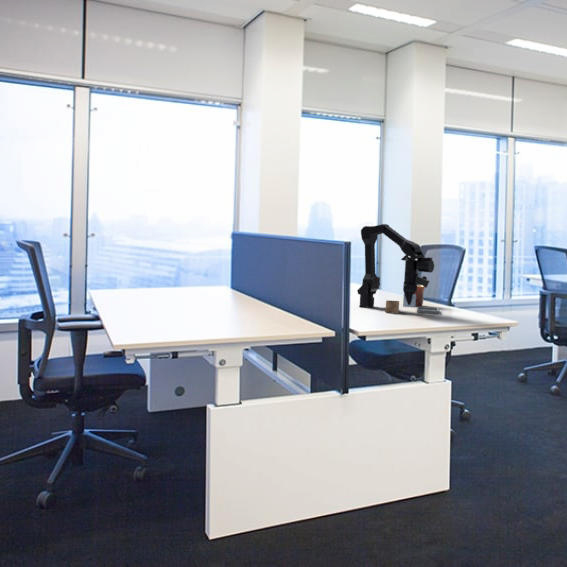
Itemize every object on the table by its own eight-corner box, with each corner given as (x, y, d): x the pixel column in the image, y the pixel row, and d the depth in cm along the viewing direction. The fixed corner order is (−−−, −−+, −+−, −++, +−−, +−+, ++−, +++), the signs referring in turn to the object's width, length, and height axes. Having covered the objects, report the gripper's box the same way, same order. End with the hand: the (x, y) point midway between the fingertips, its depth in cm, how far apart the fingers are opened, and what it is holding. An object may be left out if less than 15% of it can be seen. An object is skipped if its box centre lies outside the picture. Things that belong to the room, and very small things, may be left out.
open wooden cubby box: (385, 312, 277) (385, 302, 276) (385, 310, 283) (386, 300, 282) (398, 313, 275) (399, 302, 275) (398, 311, 281) (399, 301, 281)
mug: (406, 304, 307) (407, 284, 306) (424, 305, 305) (425, 285, 304) (406, 307, 295) (407, 287, 294) (424, 308, 293) (426, 288, 292)
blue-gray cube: (403, 306, 275) (403, 294, 274) (403, 305, 280) (403, 293, 280) (415, 307, 274) (415, 295, 273) (415, 305, 279) (415, 294, 279)
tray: (417, 312, 279) (417, 309, 279) (416, 309, 289) (417, 306, 289) (438, 314, 277) (439, 311, 277) (437, 311, 287) (438, 307, 287)
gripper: (429, 273, 264) (427, 308, 266) (428, 269, 283) (426, 302, 284) (404, 272, 267) (402, 306, 268) (404, 268, 285) (402, 300, 287)
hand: (409, 303), depth 277 cm, fingers closed on blue-gray cube, 6 cm apart
